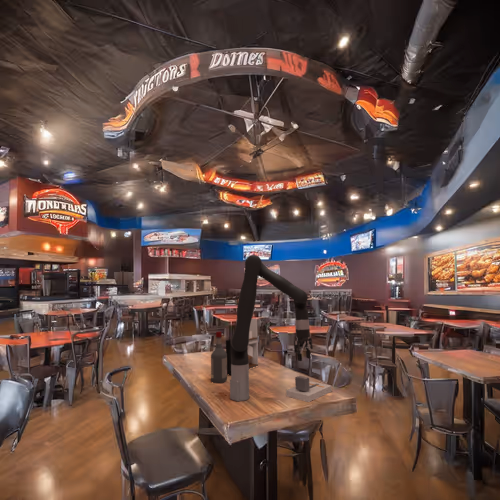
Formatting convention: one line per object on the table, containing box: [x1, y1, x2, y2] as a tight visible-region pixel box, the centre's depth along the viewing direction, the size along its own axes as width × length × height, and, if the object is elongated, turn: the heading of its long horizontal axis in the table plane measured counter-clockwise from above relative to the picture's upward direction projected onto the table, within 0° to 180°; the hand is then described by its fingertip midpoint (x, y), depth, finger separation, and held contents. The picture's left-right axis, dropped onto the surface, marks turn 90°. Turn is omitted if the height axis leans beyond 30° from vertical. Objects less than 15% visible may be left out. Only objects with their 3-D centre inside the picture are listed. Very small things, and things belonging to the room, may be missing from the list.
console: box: [285, 380, 333, 403], centre depth 164 cm, size 22×14×3 cm, turn 135°
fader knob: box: [294, 375, 310, 392], centre depth 161 cm, size 4×6×6 cm, turn 45°
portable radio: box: [225, 336, 231, 376], centre depth 210 cm, size 8×6×25 cm
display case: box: [235, 317, 259, 369], centre depth 229 cm, size 11×11×35 cm
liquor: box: [210, 331, 228, 384], centre depth 194 cm, size 9×9×30 cm
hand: (304, 359), depth 163 cm, fingers open, 8 cm apart
